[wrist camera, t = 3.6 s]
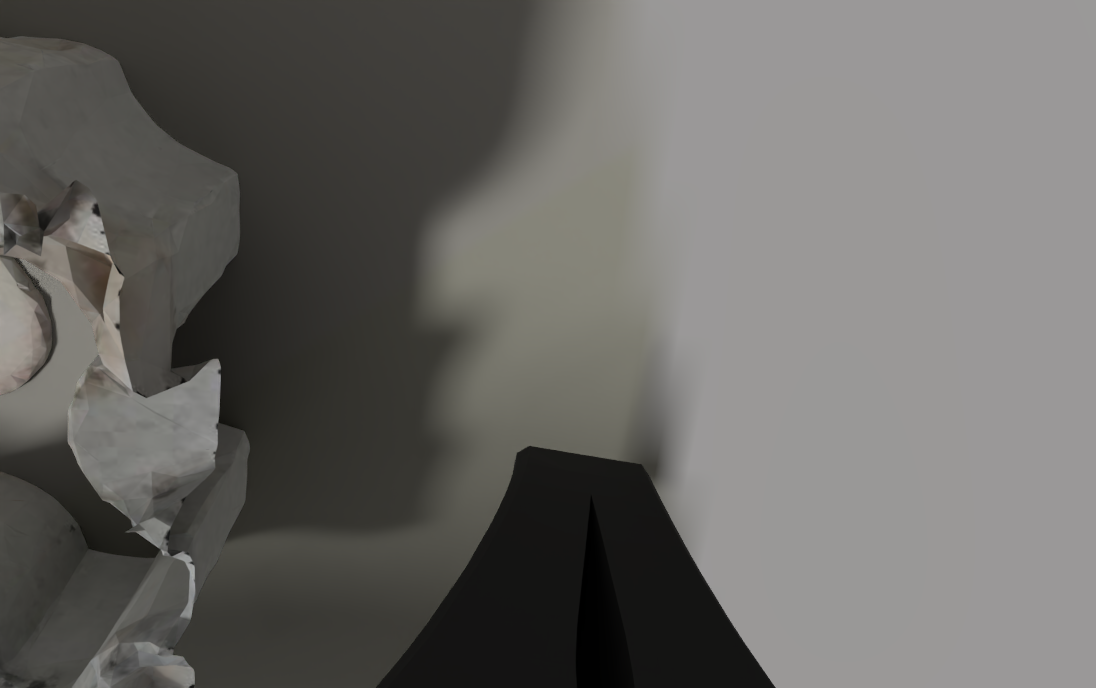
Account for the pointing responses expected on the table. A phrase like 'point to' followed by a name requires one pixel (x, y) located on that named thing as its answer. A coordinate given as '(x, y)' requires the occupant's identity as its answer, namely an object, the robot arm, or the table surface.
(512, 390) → the table surface
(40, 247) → the egg carton
